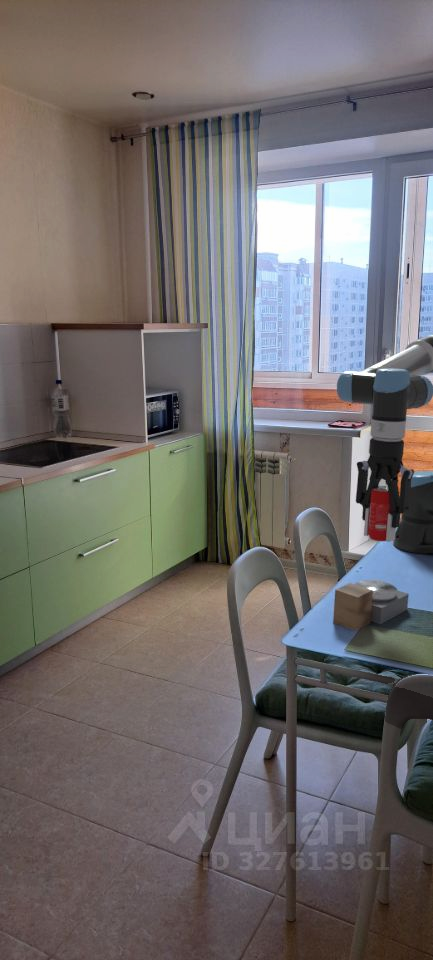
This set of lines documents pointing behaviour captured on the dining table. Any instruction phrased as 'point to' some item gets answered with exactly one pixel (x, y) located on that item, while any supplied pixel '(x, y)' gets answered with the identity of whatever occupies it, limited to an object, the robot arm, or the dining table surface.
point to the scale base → (389, 608)
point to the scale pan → (379, 590)
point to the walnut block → (352, 606)
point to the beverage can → (379, 513)
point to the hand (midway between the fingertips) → (379, 537)
